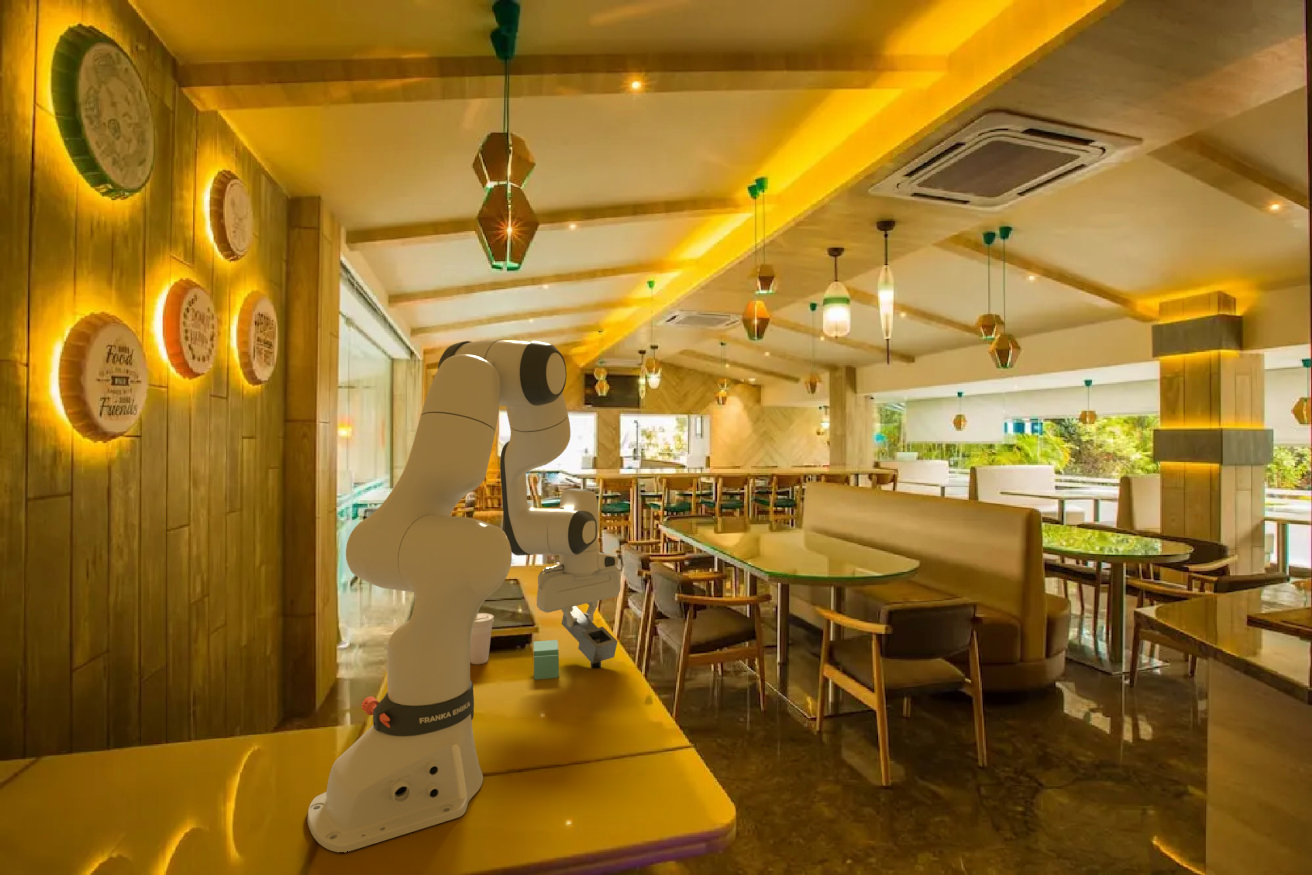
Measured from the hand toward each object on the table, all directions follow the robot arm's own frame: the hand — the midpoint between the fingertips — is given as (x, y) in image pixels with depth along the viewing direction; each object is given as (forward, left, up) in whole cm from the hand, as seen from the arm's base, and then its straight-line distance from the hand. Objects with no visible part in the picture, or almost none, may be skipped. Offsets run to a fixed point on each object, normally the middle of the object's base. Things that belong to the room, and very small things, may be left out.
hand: (580, 623), depth 139 cm
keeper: (-9, -1, -8) cm, 12 cm away
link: (0, -2, -3) cm, 4 cm away
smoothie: (-17, +14, -8) cm, 24 cm away
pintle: (0, -6, -8) cm, 10 cm away
